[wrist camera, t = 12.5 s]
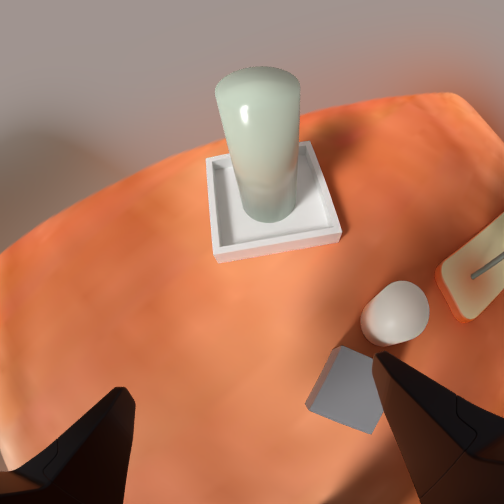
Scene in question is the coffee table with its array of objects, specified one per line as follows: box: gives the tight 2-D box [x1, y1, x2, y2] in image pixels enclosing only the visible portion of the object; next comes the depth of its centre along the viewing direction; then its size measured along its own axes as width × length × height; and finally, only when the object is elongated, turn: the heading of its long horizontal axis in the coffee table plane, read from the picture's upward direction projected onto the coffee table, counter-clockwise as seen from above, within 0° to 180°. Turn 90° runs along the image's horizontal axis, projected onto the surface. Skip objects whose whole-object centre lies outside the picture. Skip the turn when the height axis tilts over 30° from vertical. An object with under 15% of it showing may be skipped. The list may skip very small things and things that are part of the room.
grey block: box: [305, 346, 383, 434], centre depth 18 cm, size 5×5×4 cm
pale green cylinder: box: [215, 66, 300, 223], centre depth 21 cm, size 5×5×13 cm
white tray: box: [206, 141, 342, 263], centre depth 27 cm, size 11×11×2 cm
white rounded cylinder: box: [360, 281, 429, 347], centre depth 20 cm, size 4×4×4 cm
